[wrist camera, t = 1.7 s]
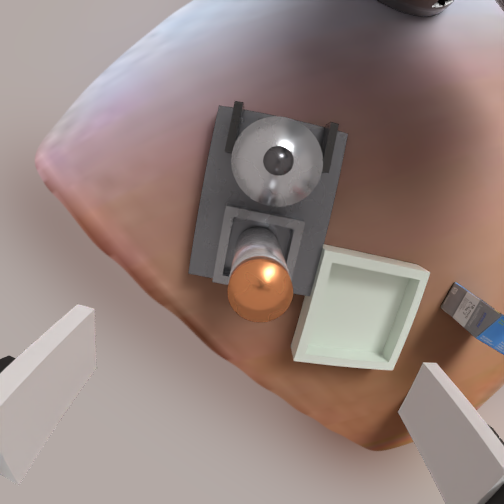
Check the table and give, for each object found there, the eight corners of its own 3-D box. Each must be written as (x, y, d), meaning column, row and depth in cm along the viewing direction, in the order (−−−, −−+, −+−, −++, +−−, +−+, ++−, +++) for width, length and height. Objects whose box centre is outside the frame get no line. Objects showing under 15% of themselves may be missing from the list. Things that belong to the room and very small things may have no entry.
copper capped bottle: (240, 223, 29) (233, 254, 18) (283, 231, 29) (301, 267, 19) (232, 264, 30) (221, 316, 19) (274, 272, 30) (285, 327, 20)
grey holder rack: (221, 107, 28) (215, 94, 23) (342, 134, 29) (359, 127, 24) (192, 267, 32) (181, 285, 27) (306, 289, 33) (316, 310, 28)
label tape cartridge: (437, 307, 34) (495, 357, 22) (454, 280, 33) (517, 322, 21) (475, 330, 35) (527, 376, 23) (489, 306, 34) (546, 346, 22)
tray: (318, 242, 32) (325, 250, 29) (417, 264, 32) (430, 272, 29) (290, 346, 35) (293, 360, 32) (384, 357, 35) (392, 370, 32)
